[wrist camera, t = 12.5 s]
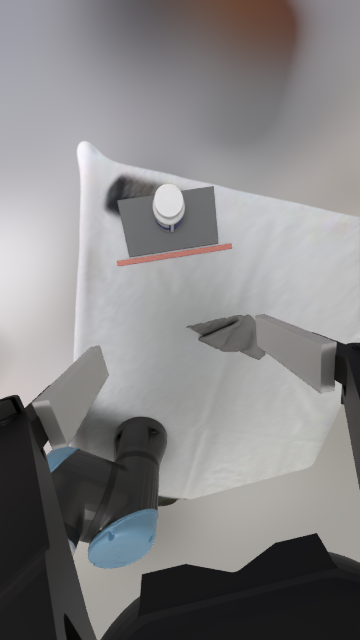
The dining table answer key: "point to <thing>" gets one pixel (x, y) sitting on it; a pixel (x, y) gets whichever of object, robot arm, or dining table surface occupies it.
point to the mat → (152, 239)
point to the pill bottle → (168, 207)
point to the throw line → (174, 254)
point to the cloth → (231, 335)
